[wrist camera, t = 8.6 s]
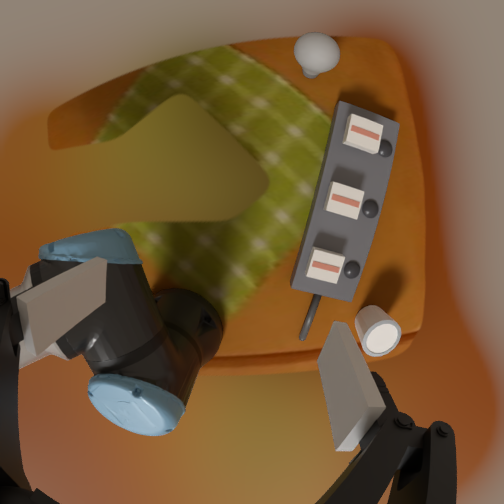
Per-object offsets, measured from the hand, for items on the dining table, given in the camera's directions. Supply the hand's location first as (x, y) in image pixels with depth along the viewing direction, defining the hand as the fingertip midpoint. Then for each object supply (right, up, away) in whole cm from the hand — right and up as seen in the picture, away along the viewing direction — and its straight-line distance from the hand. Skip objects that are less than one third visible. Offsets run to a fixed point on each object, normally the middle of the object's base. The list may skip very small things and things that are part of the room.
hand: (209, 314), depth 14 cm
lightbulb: (+11, +31, +21) cm, 40 cm away
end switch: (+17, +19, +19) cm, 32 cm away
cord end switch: (+13, +2, +25) cm, 28 cm away
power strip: (+15, +6, +27) cm, 32 cm away
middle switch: (+15, +11, +23) cm, 29 cm away
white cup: (+23, -9, +30) cm, 39 cm away
